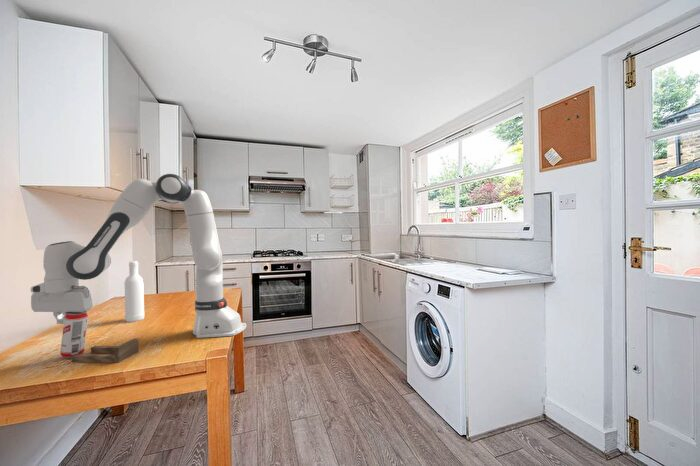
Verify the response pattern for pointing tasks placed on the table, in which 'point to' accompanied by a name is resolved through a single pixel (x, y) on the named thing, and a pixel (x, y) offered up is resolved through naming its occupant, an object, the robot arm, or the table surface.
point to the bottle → (134, 294)
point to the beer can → (74, 334)
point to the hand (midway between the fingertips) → (63, 323)
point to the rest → (120, 352)
